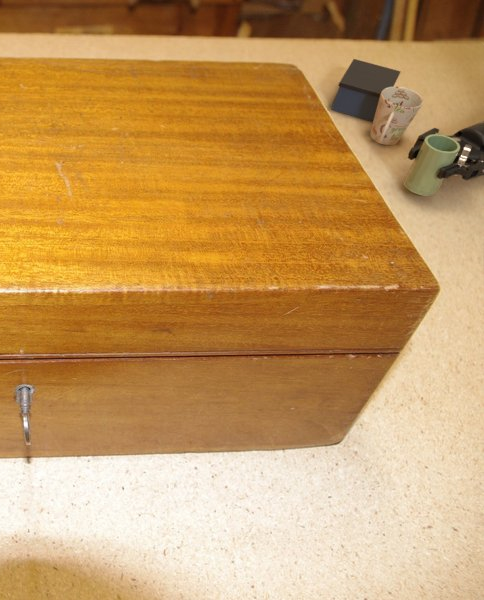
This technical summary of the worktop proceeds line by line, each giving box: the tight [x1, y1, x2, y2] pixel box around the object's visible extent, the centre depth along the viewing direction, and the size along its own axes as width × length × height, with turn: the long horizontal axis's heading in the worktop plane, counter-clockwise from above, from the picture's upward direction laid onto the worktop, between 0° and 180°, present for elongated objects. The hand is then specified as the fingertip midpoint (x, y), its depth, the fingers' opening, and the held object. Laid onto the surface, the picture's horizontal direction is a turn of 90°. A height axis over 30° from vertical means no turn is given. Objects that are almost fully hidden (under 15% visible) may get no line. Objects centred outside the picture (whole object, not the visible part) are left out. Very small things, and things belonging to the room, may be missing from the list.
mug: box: [369, 86, 424, 146], centre depth 149 cm, size 8×13×10 cm, turn 149°
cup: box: [403, 133, 460, 197], centre depth 136 cm, size 6×6×10 cm
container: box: [331, 58, 401, 123], centre depth 161 cm, size 11×13×7 cm
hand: (425, 164), depth 134 cm, fingers closed on cup, 6 cm apart
